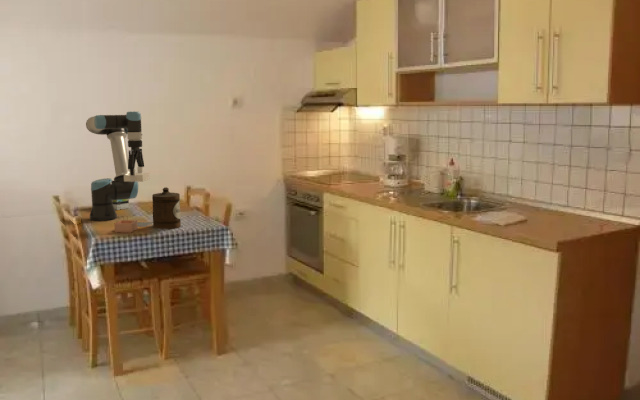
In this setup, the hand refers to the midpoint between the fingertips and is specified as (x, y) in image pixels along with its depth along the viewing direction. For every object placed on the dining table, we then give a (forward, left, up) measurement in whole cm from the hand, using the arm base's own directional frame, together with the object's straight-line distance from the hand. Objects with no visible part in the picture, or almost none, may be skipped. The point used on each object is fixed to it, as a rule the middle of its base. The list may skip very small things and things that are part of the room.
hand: (136, 179), depth 331 cm
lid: (0, 0, 0) cm, 0 cm away
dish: (-1, -16, -26) cm, 30 cm away
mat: (0, 0, -26) cm, 26 cm away
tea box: (-35, +52, -26) cm, 68 cm away
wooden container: (+17, -3, -26) cm, 31 cm away
